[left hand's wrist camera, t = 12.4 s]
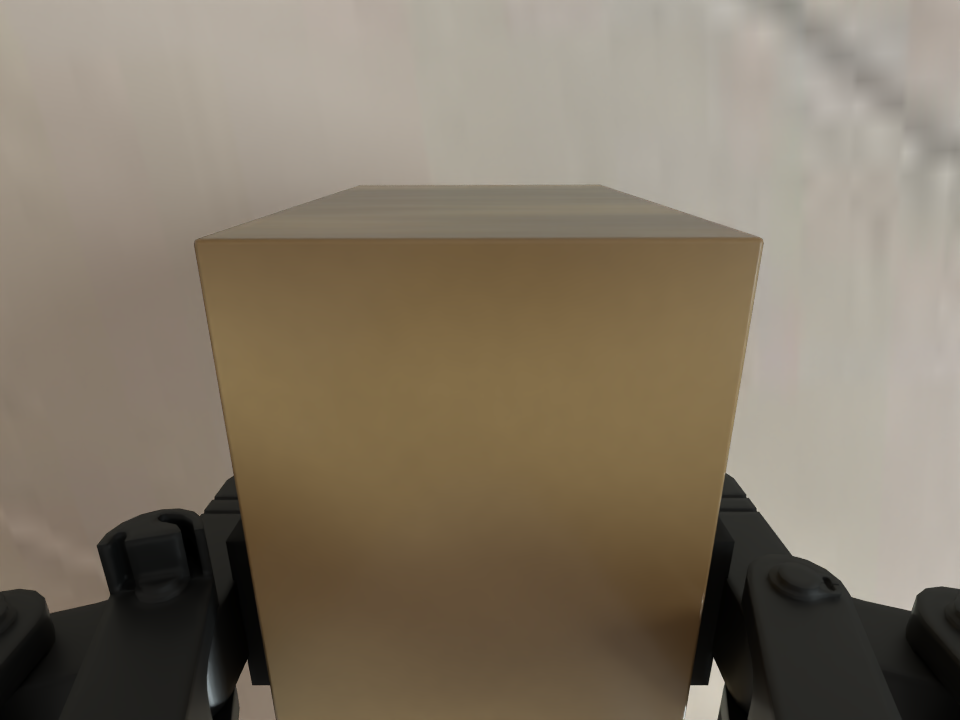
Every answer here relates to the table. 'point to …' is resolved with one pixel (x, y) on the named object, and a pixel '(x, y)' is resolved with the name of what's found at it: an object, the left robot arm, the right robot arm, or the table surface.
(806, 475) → the table surface
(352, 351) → the bar
